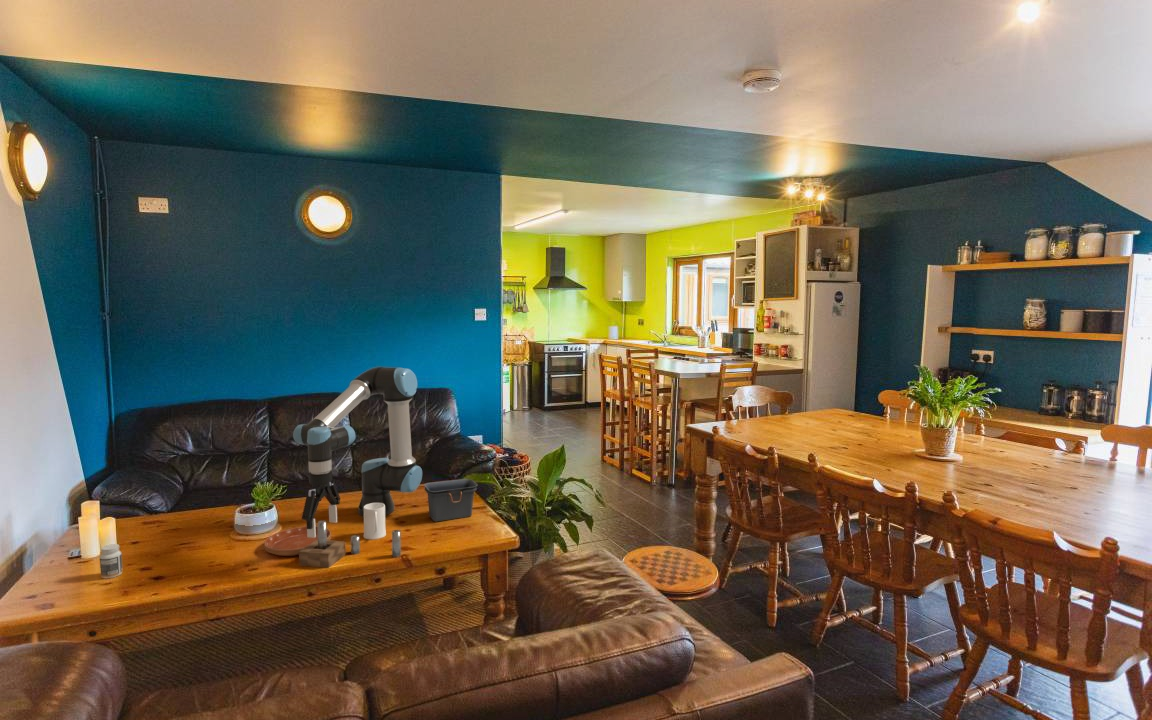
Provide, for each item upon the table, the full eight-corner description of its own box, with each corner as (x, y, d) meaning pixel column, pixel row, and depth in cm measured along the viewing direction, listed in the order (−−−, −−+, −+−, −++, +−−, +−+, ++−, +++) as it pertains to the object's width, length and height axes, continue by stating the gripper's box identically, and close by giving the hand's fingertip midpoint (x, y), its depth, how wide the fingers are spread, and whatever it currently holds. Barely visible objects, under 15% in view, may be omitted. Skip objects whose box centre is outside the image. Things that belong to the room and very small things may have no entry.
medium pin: (394, 553, 219) (394, 529, 218) (402, 554, 218) (402, 530, 218) (390, 556, 216) (390, 532, 215) (398, 557, 215) (398, 533, 215)
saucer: (254, 561, 212) (254, 551, 211) (276, 536, 234) (276, 527, 234) (322, 557, 215) (322, 547, 215) (337, 533, 238) (337, 524, 237)
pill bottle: (108, 571, 201) (107, 543, 201) (126, 571, 202) (125, 543, 201) (96, 579, 196) (94, 550, 195) (115, 579, 196) (113, 549, 195)
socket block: (317, 552, 219) (317, 539, 218) (345, 554, 217) (345, 541, 217) (299, 565, 208) (299, 551, 208) (328, 567, 206) (328, 554, 206)
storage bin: (470, 508, 268) (469, 477, 267) (481, 519, 255) (481, 486, 253) (422, 515, 258) (422, 483, 257) (431, 527, 245) (431, 493, 243)
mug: (386, 541, 230) (385, 511, 229) (362, 543, 227) (362, 513, 226) (386, 530, 241) (385, 501, 240) (363, 532, 238) (363, 503, 237)
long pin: (321, 558, 214) (320, 520, 213) (329, 558, 214) (328, 520, 213) (316, 561, 211) (315, 523, 210) (324, 562, 211) (323, 523, 210)
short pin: (353, 550, 221) (353, 534, 220) (361, 551, 221) (361, 535, 220) (349, 553, 218) (349, 538, 217) (357, 554, 218) (357, 538, 217)
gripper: (330, 461, 222) (332, 515, 225) (288, 481, 198) (291, 543, 200) (348, 462, 221) (350, 517, 224) (309, 482, 197) (312, 544, 199)
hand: (322, 529), depth 212 cm, fingers open, 13 cm apart
